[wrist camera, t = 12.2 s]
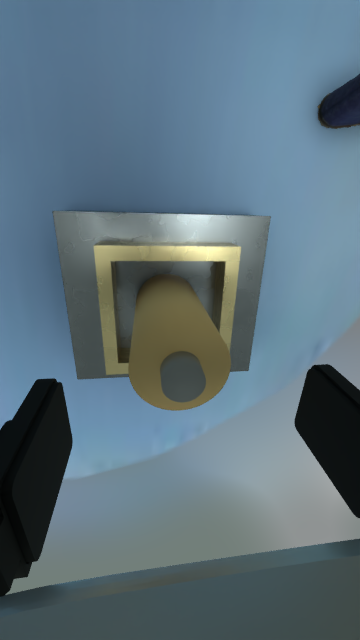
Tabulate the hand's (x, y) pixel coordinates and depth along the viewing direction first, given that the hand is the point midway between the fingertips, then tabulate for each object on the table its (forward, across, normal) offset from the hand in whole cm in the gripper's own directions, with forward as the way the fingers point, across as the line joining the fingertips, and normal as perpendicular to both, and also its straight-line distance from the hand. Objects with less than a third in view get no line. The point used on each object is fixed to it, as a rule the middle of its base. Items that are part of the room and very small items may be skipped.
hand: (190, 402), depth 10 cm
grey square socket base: (+17, 0, +1) cm, 17 cm away
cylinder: (+13, 0, +1) cm, 13 cm away
